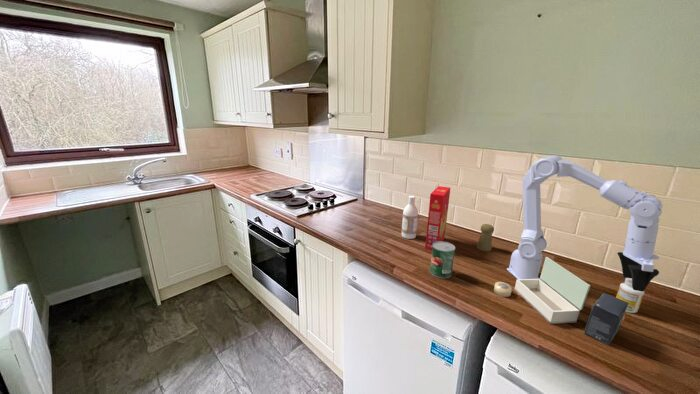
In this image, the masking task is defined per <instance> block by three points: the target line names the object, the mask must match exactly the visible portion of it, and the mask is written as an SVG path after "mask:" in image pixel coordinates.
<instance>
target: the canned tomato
mask: <svg viewBox="0 0 700 394" xmlns="http://www.w3.org/2000/svg"><path fill="white" fill-rule="evenodd" d="M455 253H456V246H455V245H454V244H453V243H450V242H448V241H444V240H443V241H438V242H435V243H433V248H432V250H431V255H430V256H431V258H430V266H429V273H430V274H431V275H432V276H433V277H436V278H437V279H438V278H439V279H449V278H450V277H452V274H453V273H452V272H453V267H454V260H455Z"/></svg>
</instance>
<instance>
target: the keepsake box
mask: <svg viewBox="0 0 700 394" xmlns="http://www.w3.org/2000/svg"><path fill="white" fill-rule="evenodd" d="M541 280H542V279H541ZM541 280H540V279H517V278H516V281H515V285H514V289H513V290H514V291H515V292H516V293H517V294H518V295H519V296H520V297H521V298H523V300H524V301H525V302H527V304H529V305H530V306H531V307H532V308H533V309H534V310H535V311H536V312H537V313H538V314H539V315H540V316H541V317H542V318H543V319H544V320H546V321H547V322H548V323H549V324H550V325H551V324H554V325H555V324H569V323H571V324H572V323H577V320H578V317H579V314H580V309H579V308H577V307H576V306H575V305H574V304H572V303H571V302H570V301H568V300H567V299H566V298H565V297H563V296H562V295H561V294H560V293H558V292H557V291H556V290H554V289H553V288H552V287H551V286H549V285H548V284H547V283H546V282H543V281H541Z"/></svg>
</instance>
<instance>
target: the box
mask: <svg viewBox="0 0 700 394" xmlns="http://www.w3.org/2000/svg"><path fill="white" fill-rule="evenodd" d="M627 306H628V302H626V301H623V300H621V299H618V298H616V296H612V295H610V294H608V293H605V292H603V293H602V294H601V296H600V297H599V298H598V299H596V301H595V303H594V304H593V305H592V307H591V310H590V314H589V317H588V320H587V322H586V326H585V328H584V331H583V334H585V335H587V336H589V337H591V338H593V339H595V340H598V341H599V342H600V343H603V344H605V345H607V346H610V344H611V343H612V341H613V339H614V338H615V336H616V334H617V333H618V332H619V329H620V327H621V324H622V321H623V319H624V317H625V314H626V309H627Z"/></svg>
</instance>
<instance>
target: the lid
mask: <svg viewBox="0 0 700 394" xmlns="http://www.w3.org/2000/svg"><path fill="white" fill-rule="evenodd" d="M539 278H540V279H541V280H543V281H544V283H545V284H546V285H548V286H549V287H550V288H552V289H553V290H554V291H555V292H557V293H558V294H559V295H560V296H562V297H563V298H564V299H566V300H567V301H568V302H569V303H571V304H572V305H573V306H574V307H576V308H577V309H578V310H579V311H583V310H584V306H585V304H586V301H587V298H588V294H589V291H590V288H591V285H590V284H589V283H587V282H586V281H585V280H583V279H581V278H579V276H577V275H575V274H574V273H572V272H571V271H569V270H568V269H567V268H564V267H563V266H562V265H560V264H559V263H557V262H555V261H554V260H553V259H551V258H549V257H548V256H545V258H544V262H543V265H542V269H541V274H540V277H539Z"/></svg>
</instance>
